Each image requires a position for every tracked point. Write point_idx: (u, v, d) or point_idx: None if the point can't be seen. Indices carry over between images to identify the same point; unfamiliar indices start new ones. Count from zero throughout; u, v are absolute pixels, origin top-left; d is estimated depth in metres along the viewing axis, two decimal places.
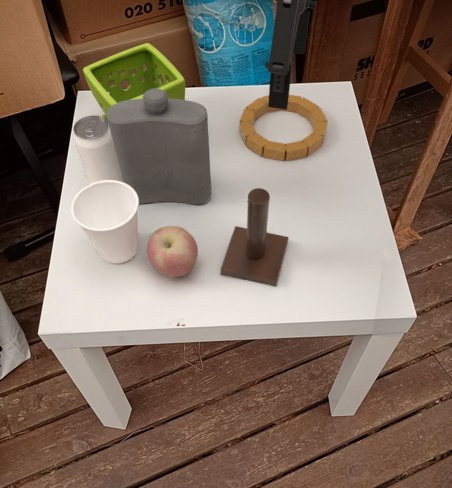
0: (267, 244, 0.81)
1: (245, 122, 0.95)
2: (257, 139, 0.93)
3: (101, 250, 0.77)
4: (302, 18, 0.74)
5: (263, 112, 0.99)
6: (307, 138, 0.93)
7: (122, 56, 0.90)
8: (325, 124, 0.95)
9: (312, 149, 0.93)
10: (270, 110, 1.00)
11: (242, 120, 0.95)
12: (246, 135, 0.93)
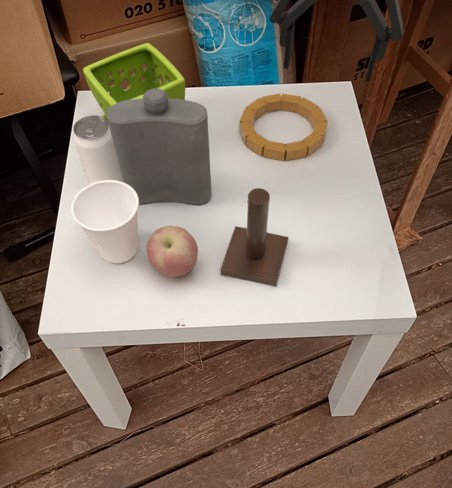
0: (267, 244, 0.81)
1: (245, 122, 0.95)
2: (257, 139, 0.93)
3: (101, 250, 0.77)
4: (293, 30, 0.80)
5: (263, 112, 0.99)
6: (307, 138, 0.93)
7: (122, 56, 0.90)
8: (325, 124, 0.95)
9: (312, 149, 0.93)
10: (270, 110, 1.00)
11: (242, 120, 0.95)
12: (246, 135, 0.93)
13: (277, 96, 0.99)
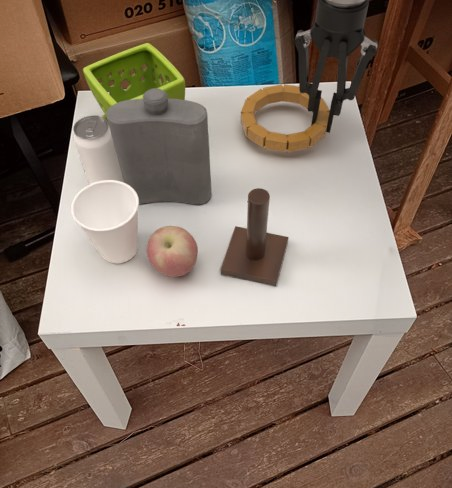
0: (267, 244, 0.81)
1: (246, 113, 0.93)
2: (258, 130, 0.91)
3: (101, 250, 0.77)
4: (320, 97, 0.89)
5: (264, 103, 0.97)
6: (309, 129, 0.91)
7: (122, 56, 0.90)
8: (328, 115, 0.93)
9: (315, 140, 0.91)
10: (272, 101, 0.98)
11: (243, 111, 0.94)
12: (247, 126, 0.91)
13: (279, 87, 0.97)
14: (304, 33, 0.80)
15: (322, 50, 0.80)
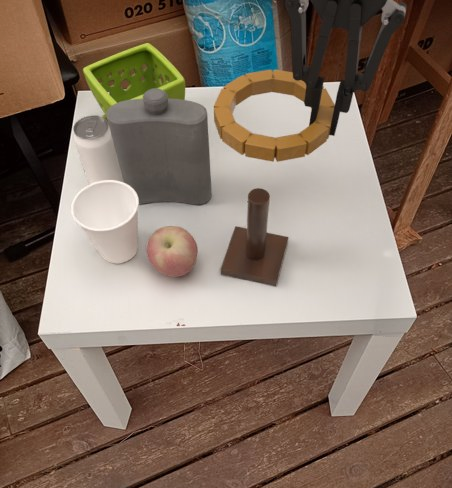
0: (267, 244, 0.81)
1: (221, 107, 0.69)
2: (236, 131, 0.66)
3: (101, 250, 0.77)
4: (322, 87, 0.65)
5: (247, 95, 0.73)
6: (307, 130, 0.66)
7: (122, 56, 0.90)
8: (332, 111, 0.68)
9: (313, 146, 0.66)
10: (257, 92, 0.73)
11: (217, 105, 0.69)
12: (221, 125, 0.67)
13: (267, 72, 0.72)
14: None
15: (325, 17, 0.55)
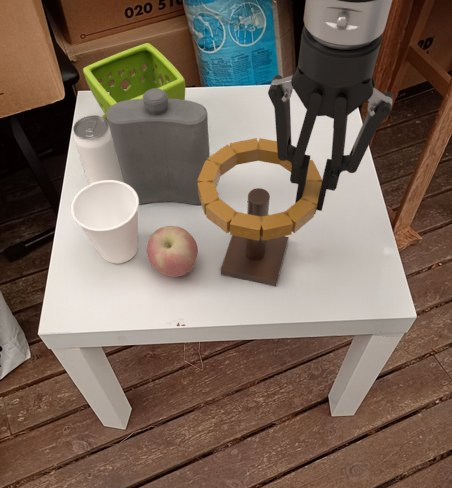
0: (267, 244, 0.81)
1: (205, 182, 0.67)
2: (221, 209, 0.64)
3: (101, 250, 0.77)
4: (308, 165, 0.63)
5: (232, 165, 0.71)
6: (293, 208, 0.64)
7: (122, 56, 0.90)
8: (319, 186, 0.66)
9: (300, 224, 0.64)
10: (242, 162, 0.71)
11: (201, 179, 0.67)
12: (205, 203, 0.65)
13: (252, 142, 0.70)
14: (282, 80, 0.53)
15: (309, 107, 0.53)
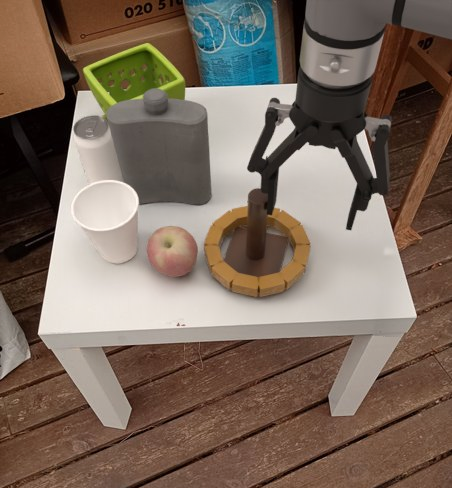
0: (267, 244, 0.81)
1: (210, 246, 0.78)
2: (224, 270, 0.76)
3: (101, 250, 0.77)
4: (277, 176, 0.66)
5: (234, 227, 0.82)
6: (285, 269, 0.76)
7: (122, 56, 0.90)
8: (308, 249, 0.78)
9: (291, 282, 0.76)
10: (242, 224, 0.83)
11: (207, 243, 0.78)
12: (211, 264, 0.76)
13: None
14: (281, 107, 0.56)
15: (302, 135, 0.56)
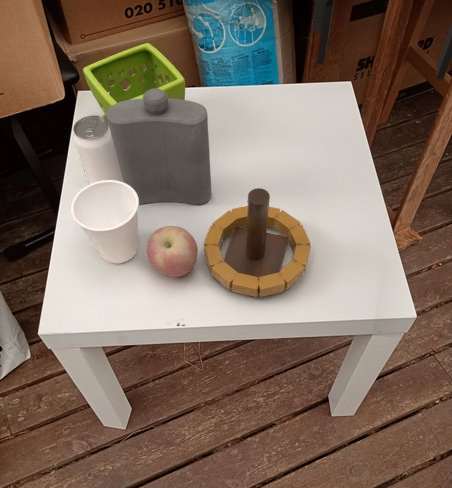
0: (267, 244, 0.81)
1: (210, 246, 0.78)
2: (224, 270, 0.76)
3: (101, 250, 0.77)
4: (333, 7, 0.55)
5: (234, 227, 0.82)
6: (285, 269, 0.76)
7: (122, 56, 0.90)
8: (308, 249, 0.78)
9: (291, 282, 0.76)
10: (242, 224, 0.83)
11: (207, 243, 0.78)
12: (211, 264, 0.76)
13: None
14: None
15: None
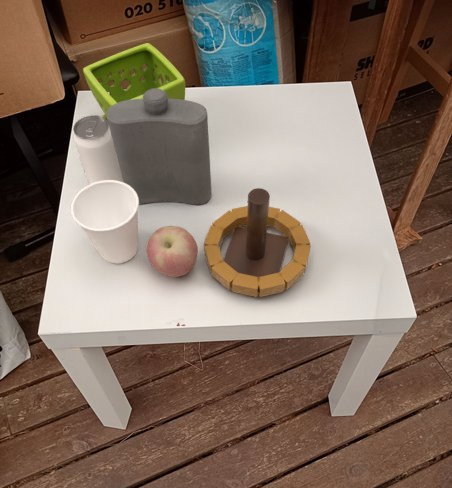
0: (267, 244, 0.81)
1: (210, 246, 0.78)
2: (224, 270, 0.76)
3: (101, 250, 0.77)
4: None
5: (234, 227, 0.82)
6: (285, 269, 0.76)
7: (122, 56, 0.90)
8: (308, 249, 0.78)
9: (291, 282, 0.76)
10: (242, 224, 0.83)
11: (207, 243, 0.78)
12: (211, 264, 0.76)
13: None
14: None
15: None
